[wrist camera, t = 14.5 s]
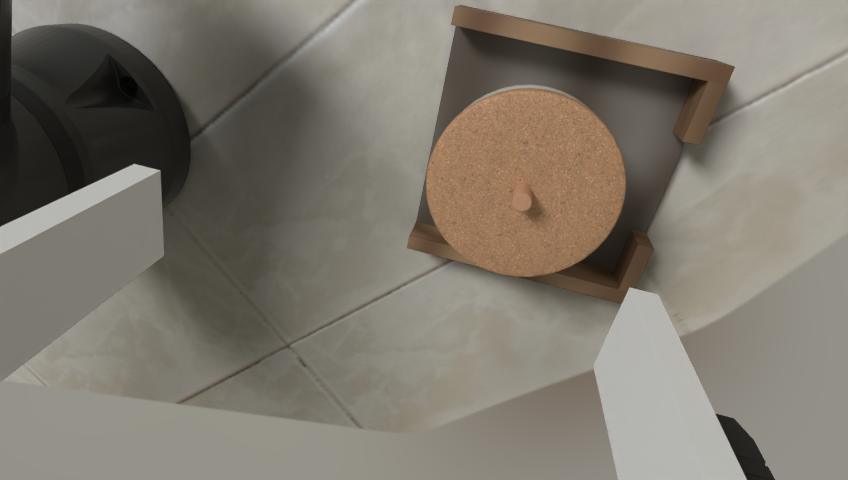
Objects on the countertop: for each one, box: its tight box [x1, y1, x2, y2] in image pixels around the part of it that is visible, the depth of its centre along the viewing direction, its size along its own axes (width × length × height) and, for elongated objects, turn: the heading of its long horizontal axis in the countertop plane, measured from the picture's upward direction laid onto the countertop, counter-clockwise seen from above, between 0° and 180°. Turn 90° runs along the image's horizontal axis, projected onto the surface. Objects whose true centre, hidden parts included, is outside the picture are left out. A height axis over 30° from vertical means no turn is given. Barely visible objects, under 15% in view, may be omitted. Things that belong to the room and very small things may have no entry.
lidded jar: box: [426, 84, 627, 277], centre depth 31 cm, size 11×11×9 cm
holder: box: [407, 5, 735, 303], centre depth 34 cm, size 16×16×3 cm
